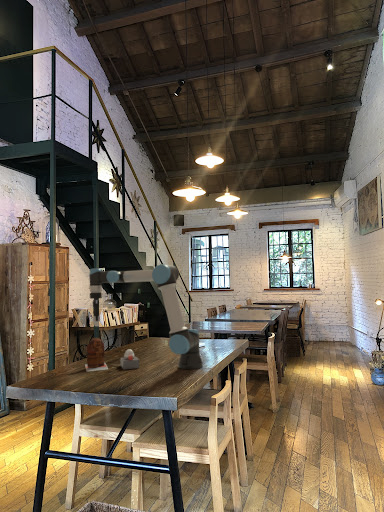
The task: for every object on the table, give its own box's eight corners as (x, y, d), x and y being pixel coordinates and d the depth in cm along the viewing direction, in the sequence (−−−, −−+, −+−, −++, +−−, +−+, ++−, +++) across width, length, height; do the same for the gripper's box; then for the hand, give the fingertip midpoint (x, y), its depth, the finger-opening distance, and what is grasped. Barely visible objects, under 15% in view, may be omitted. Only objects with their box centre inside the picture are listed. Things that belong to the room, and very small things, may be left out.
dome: (135, 358, 239) (135, 349, 239) (124, 359, 237) (124, 350, 237) (133, 356, 245) (133, 348, 245) (123, 357, 243) (123, 349, 243)
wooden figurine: (92, 368, 234) (92, 339, 236) (85, 368, 238) (85, 339, 239) (106, 365, 244) (106, 337, 246) (99, 364, 248) (99, 336, 249)
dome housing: (139, 367, 235) (139, 355, 236) (123, 369, 232) (123, 357, 232) (136, 364, 246) (135, 352, 247) (120, 365, 243) (120, 354, 244)
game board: (108, 369, 233) (108, 368, 233) (86, 371, 229) (86, 371, 229) (105, 362, 254) (105, 362, 254) (85, 364, 250) (85, 364, 250)
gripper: (88, 292, 256) (89, 324, 254) (90, 292, 232) (91, 327, 230) (100, 292, 258) (100, 323, 256) (103, 292, 234) (103, 326, 233)
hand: (96, 325), depth 243 cm, fingers open, 13 cm apart
